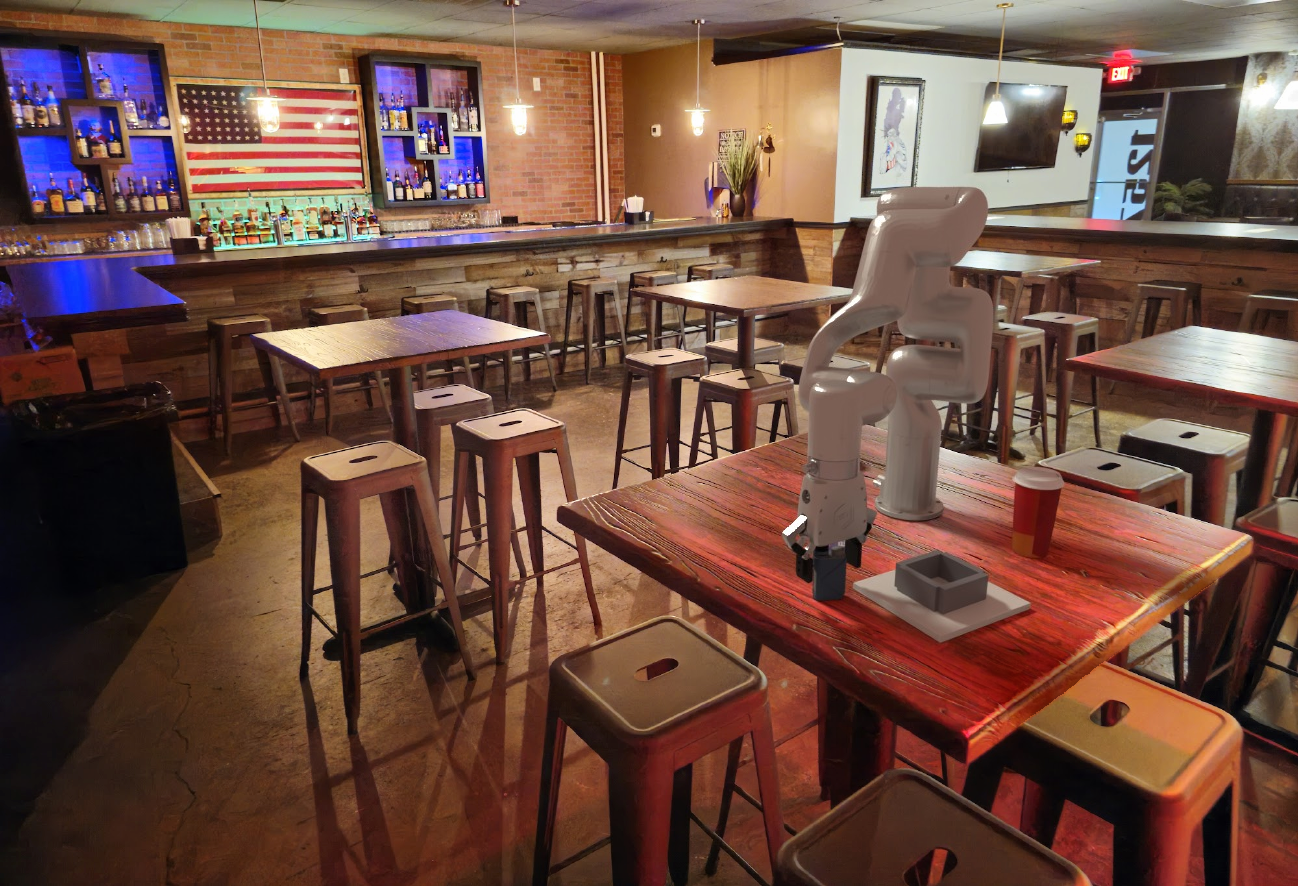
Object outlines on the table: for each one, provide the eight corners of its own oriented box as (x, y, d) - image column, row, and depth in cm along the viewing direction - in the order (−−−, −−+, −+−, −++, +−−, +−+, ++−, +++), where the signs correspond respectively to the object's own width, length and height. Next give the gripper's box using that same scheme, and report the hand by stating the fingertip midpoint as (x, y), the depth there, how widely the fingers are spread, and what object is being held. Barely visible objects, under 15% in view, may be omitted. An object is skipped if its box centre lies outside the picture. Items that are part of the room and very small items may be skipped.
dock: (853, 588, 129) (854, 559, 127) (937, 561, 137) (939, 534, 135) (940, 642, 114) (943, 610, 112) (1029, 609, 122) (1033, 578, 120)
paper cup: (1052, 543, 142) (1062, 467, 137) (1057, 563, 135) (1068, 484, 130) (1003, 538, 144) (1011, 463, 140) (1005, 557, 137) (1014, 479, 133)
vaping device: (808, 593, 128) (811, 523, 124) (841, 591, 128) (845, 520, 125) (813, 601, 126) (815, 530, 122) (847, 599, 126) (850, 527, 122)
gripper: (801, 484, 113) (797, 596, 119) (896, 462, 121) (889, 568, 126) (769, 468, 120) (767, 575, 125) (861, 448, 127) (856, 549, 132)
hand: (828, 571), depth 126 cm, fingers open, 8 cm apart
